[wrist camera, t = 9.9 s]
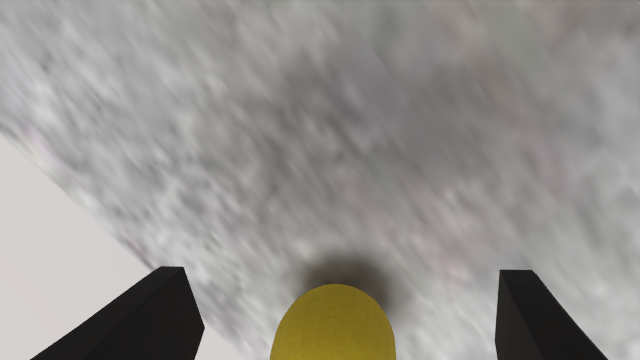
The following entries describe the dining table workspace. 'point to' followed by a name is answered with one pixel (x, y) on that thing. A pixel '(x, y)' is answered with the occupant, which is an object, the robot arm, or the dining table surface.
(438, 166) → the dining table surface
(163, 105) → the dining table surface
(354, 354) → the lemon
